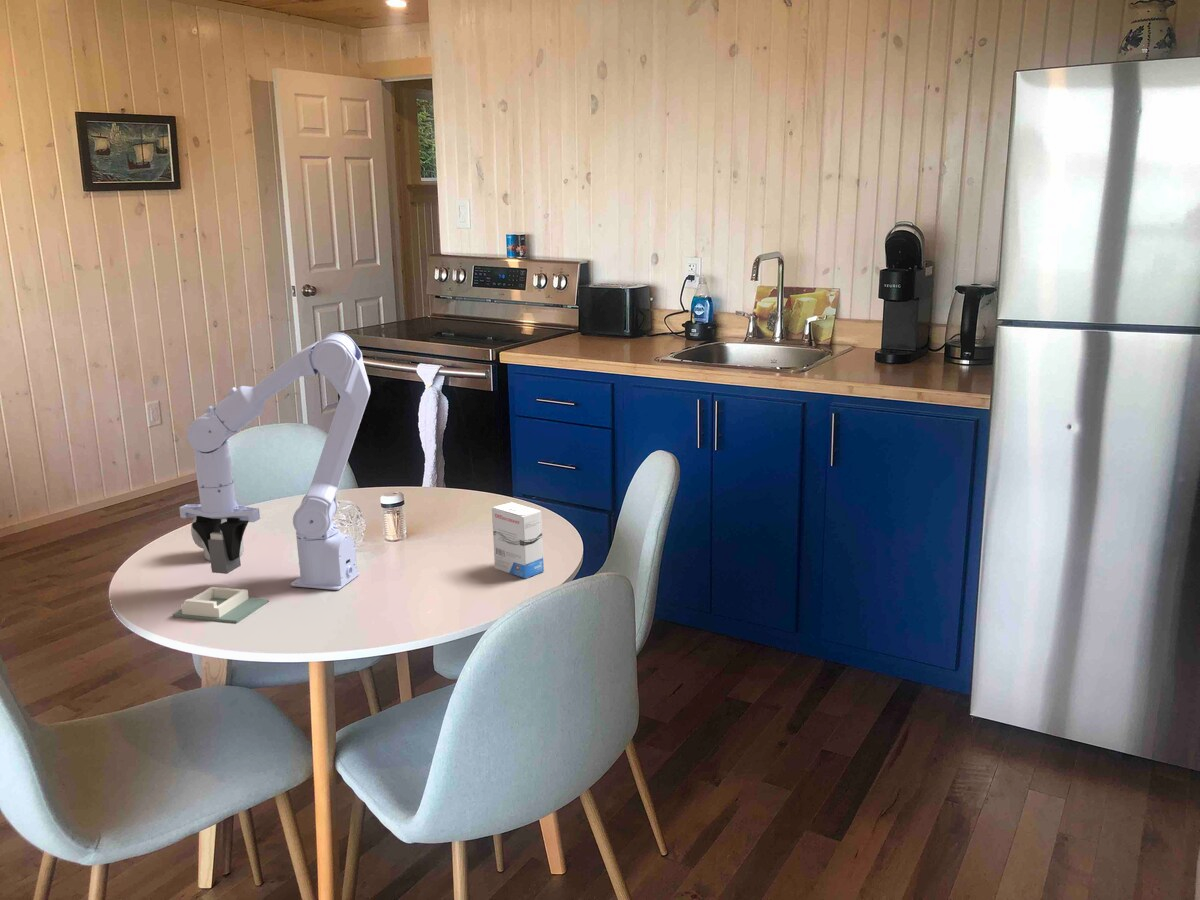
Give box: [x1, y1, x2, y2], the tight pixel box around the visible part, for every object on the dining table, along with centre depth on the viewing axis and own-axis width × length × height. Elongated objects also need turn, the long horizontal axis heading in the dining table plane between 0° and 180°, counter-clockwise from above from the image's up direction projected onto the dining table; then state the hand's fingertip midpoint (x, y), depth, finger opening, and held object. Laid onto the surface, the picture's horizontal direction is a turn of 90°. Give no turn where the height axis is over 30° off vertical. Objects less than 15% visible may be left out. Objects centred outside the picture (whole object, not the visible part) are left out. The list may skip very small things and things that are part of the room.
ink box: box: [491, 501, 545, 579], centre depth 175 cm, size 8×5×12 cm, turn 47°
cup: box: [190, 517, 245, 562], centre depth 186 cm, size 7×10×9 cm
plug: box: [208, 532, 241, 575], centre depth 169 cm, size 3×4×7 cm
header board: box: [171, 586, 269, 624], centre depth 161 cm, size 12×9×3 cm
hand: (225, 558), depth 170 cm, fingers closed on plug, 3 cm apart
